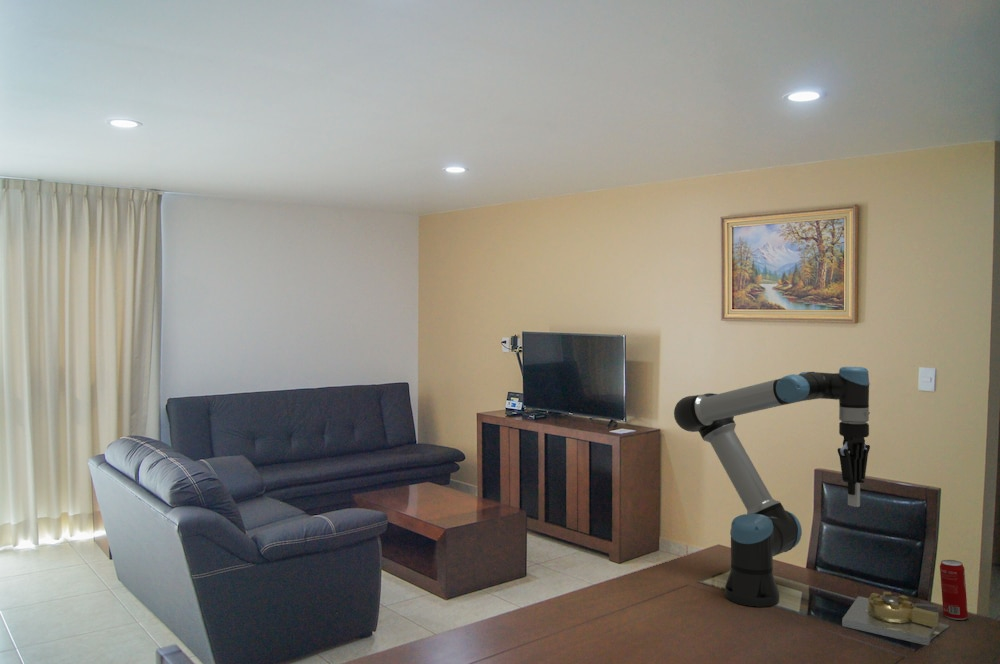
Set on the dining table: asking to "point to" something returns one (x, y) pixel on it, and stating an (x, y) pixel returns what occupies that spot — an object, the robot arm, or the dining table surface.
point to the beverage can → (953, 589)
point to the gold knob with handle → (899, 610)
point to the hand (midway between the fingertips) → (853, 505)
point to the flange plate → (888, 623)
